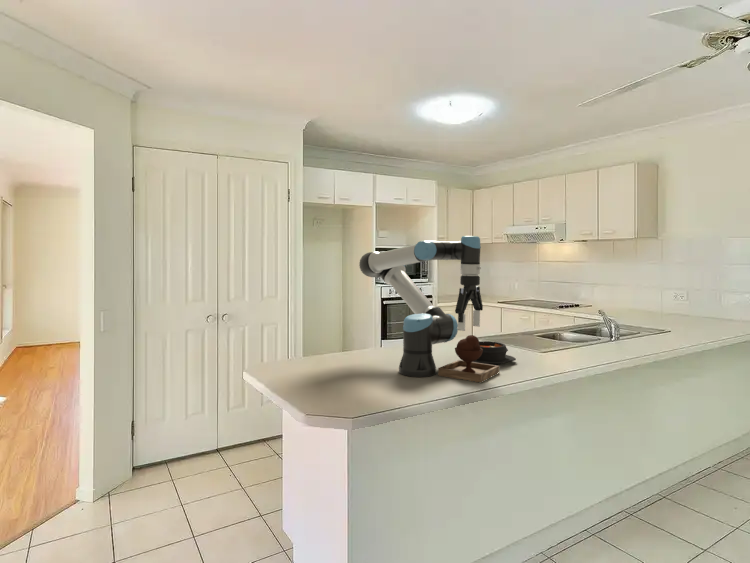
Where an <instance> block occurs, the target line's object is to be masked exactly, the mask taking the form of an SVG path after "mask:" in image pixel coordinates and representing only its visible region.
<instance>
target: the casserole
mask: <svg viewBox="0 0 750 563" xmlns="http://www.w3.org/2000/svg"><path fill="white" fill-rule="evenodd" d="M479 345H480V347H481V348H482V349H483V352H482V355H481V356H480V357H479V358H478V359H477V360H475V361H473V362H476V363H483V364H490V365H496V366H498V365H497V364H499V365H501V363H502V364H505V363H509V362H515V361H516V358H517V357H516V358H515V357H514V356H512V355H509V354H507V352H508V351H509V349H508V348H507V345H506V344H505V343H502V342H498V341H497V342H496V341H489V340H488V341H487V340H484V341H483V340H479Z"/></svg>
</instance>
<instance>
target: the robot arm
mask: <svg viewBox="0 0 750 563" xmlns="http://www.w3.org/2000/svg"><path fill="white" fill-rule="evenodd" d="M481 248H482V246H481V237H480V236H478V235H464V236H463V235H462V236H461V237H460V240H459V241H456V240H455V241H451V240H450V241H448V240H446V241H444V240H442V241H441V240H427V239H426V240H420V241H418V242H417V243H415V244H411V245H407V246H403V247H402V246H401V247H398V248H395V249H390V250H387V251H370V252H366V253H364V254H363V255H362V256H361V258H360V259H359V263H358V264H359V265H358V267H359V269H360V271H361V273H362V274H363V275H364V276H366V277H369V278H381V279H382V280H383V281H384V283H385V284H387V285H391V286H392V287H393V289H394V290H395V292H396V293H397V294H398V295H399V296H400V297H401V299H402V300H403V302H405V304H406V305H407V306H408V308H409V309H410V310H411V311H412V313H413V314H409V315H407V316H406V317H405V318H404V319H403V324H402V325H403V326H402V330H403V331H402V334H403V335H402V338H403V339H402V340H403V342H402V343H403V344H402V346H403V348H402V351H403V352H402V356H401V358H400V361H399V366H398V373H399V374H400V375H403V376H407V377H416V378H424V377H432V376H435V375H436V374H437V366H436V363H435V360H434V356H433V345H436V344H442V343H448V342H450V341H453V340H454V339H455V338H456V336H457V334H458V331H460V332H461V331H462V332H465V331H466V313H465V312H466V309H467V306H468V304H469V302H471V304H472V307H473V310H472V327H478V328H479V327H480V326H481V311H483V308H484V306H483V300H482V296H481V295H482V294H481V287H480V282H481V278H480V273H481V271H480V270H481V269H482V268H481V263H480V262H481ZM448 260H449V261H451V260H452V261H453V260H454V261H460V278H459V279H460V285H461V286H463V287H459V289H458V290H459V291H458V292H459V293H458V296H457V302H456V306H455V310H454V312H455V314H458V315H457V319H456V317H455V316H454V315H452V314H449V313H445V312H444V311H443V310H442V309H441V307H440V306H434V305H433V303H432V302H431V301H430V300H429V298H428V297H427V296H426V295H425V294H424V293H423V292H422V291H421V289H420V288H419V287H418V285H416V283H415V282H414V281H413V280H412V279H411V278H410V277H409V275H408V274H407V273H406V270H407V269H406V266H407V265H412V264H417V263H418V264H419V263H422V262H428V261H448Z"/></svg>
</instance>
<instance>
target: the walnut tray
mask: <svg viewBox="0 0 750 563" xmlns="http://www.w3.org/2000/svg"><path fill="white" fill-rule="evenodd" d="M465 368H466V362H465V361H463V360H461V359H458V360H455V361H452V362H449V363H447V364H445V365H442V366H440V367H438V368H437V375H438V376H440V377H446V378H452V379H457V380H461V379H463V380H462V381H467V380H469V381H468V382H473V381H475V382H474V383H478V382H481V383H483V382H485V381H487V380H489V379H490V377H491V376H493V375H495V374H497V373H498V372H499V373H500V365H490V364H483V363H476V362H471V368H472V369H473V370H475V372H476V373H470V372H464V371H462V370H463V369H465ZM497 375H498V374H497ZM495 376H496V375H495ZM493 377H494V376H493ZM488 378H489V379H488ZM491 378H492V377H491ZM486 379H487V380H486ZM484 380H485V381H484ZM482 381H483V382H482Z"/></svg>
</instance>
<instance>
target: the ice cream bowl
mask: <svg viewBox="0 0 750 563" xmlns="http://www.w3.org/2000/svg"><path fill="white" fill-rule="evenodd" d="M479 341H480V340H479V338H478V337H477V336H476V335H472V334H470V335H469V334H468V335H466V337H465V338H462V339H460V340H459V341H458V342H457V343H456V347H454V352H455V354H456V357H458V358H459V360H463V361H465V362H466V368H465V369H463V370H462V371H464V372H470V373H476V372H475V370H473V369H472V368H471V362H473V361H475V360H477V359H478V358H479V357H480V356H481V355H482V352H483V349H482V348H481V347H480V345H479Z"/></svg>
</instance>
